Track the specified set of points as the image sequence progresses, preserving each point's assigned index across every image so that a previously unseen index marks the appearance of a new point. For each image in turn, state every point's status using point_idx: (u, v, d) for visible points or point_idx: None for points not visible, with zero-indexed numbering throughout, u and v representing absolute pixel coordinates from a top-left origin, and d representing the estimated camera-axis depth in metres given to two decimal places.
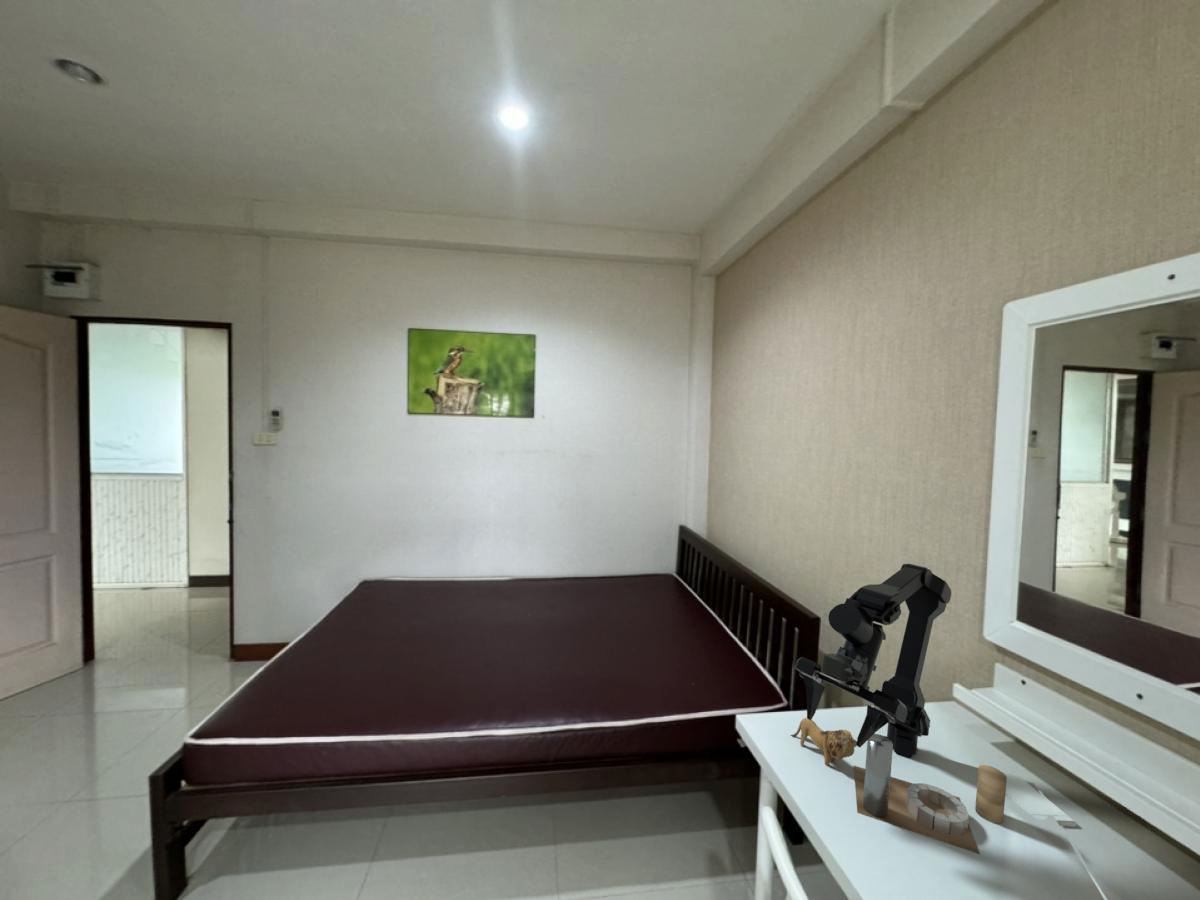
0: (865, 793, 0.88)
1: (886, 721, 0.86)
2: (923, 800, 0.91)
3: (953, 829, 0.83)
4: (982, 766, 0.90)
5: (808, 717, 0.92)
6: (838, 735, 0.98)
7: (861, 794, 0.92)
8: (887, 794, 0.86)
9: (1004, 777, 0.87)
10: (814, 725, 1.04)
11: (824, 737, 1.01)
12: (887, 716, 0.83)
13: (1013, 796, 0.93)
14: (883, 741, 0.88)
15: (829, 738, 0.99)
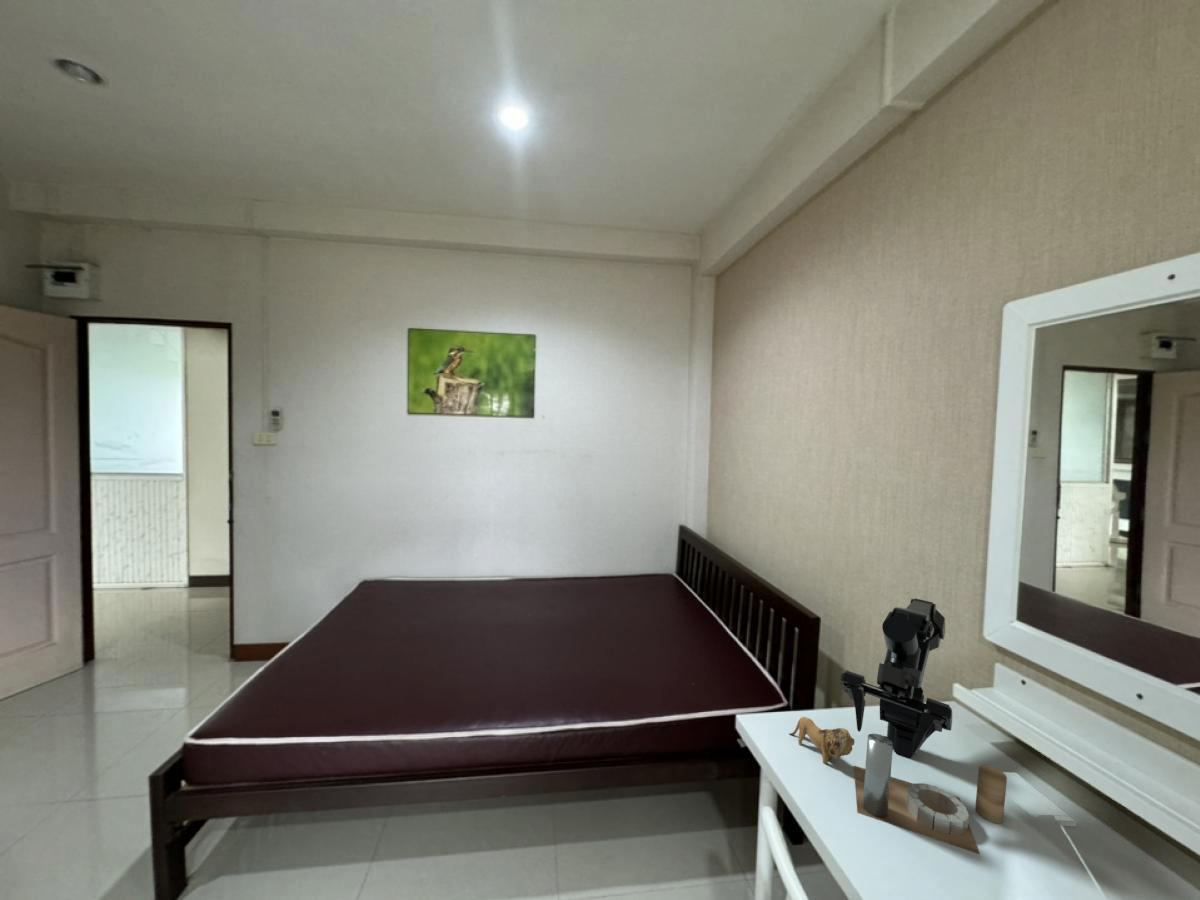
0: (865, 793, 0.88)
1: (933, 730, 0.91)
2: (923, 800, 0.91)
3: (953, 829, 0.83)
4: (982, 766, 0.90)
5: (858, 728, 0.94)
6: (836, 734, 0.99)
7: (861, 794, 0.92)
8: (887, 794, 0.86)
9: (1004, 777, 0.87)
10: (812, 724, 1.05)
11: (822, 735, 1.01)
12: (941, 722, 0.89)
13: (1013, 795, 0.93)
14: (883, 741, 0.88)
15: (827, 736, 1.00)
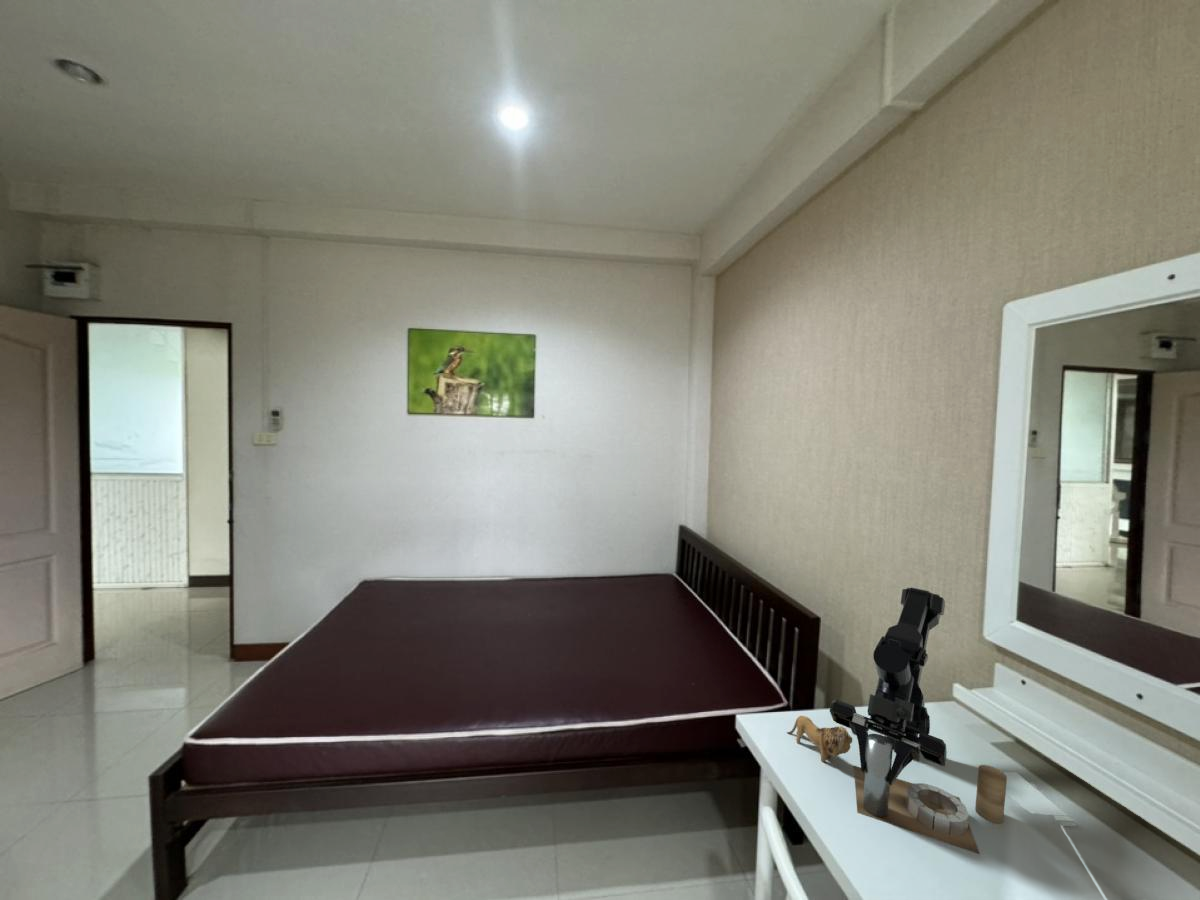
0: (865, 793, 0.88)
1: (910, 759, 0.89)
2: (923, 800, 0.91)
3: (953, 829, 0.83)
4: (982, 766, 0.90)
5: (863, 769, 0.88)
6: (834, 732, 0.99)
7: (861, 794, 0.92)
8: (887, 794, 0.86)
9: (1004, 777, 0.87)
10: (810, 722, 1.05)
11: (820, 734, 1.02)
12: (918, 752, 0.86)
13: (1013, 795, 0.94)
14: (883, 741, 0.88)
15: (825, 734, 1.00)
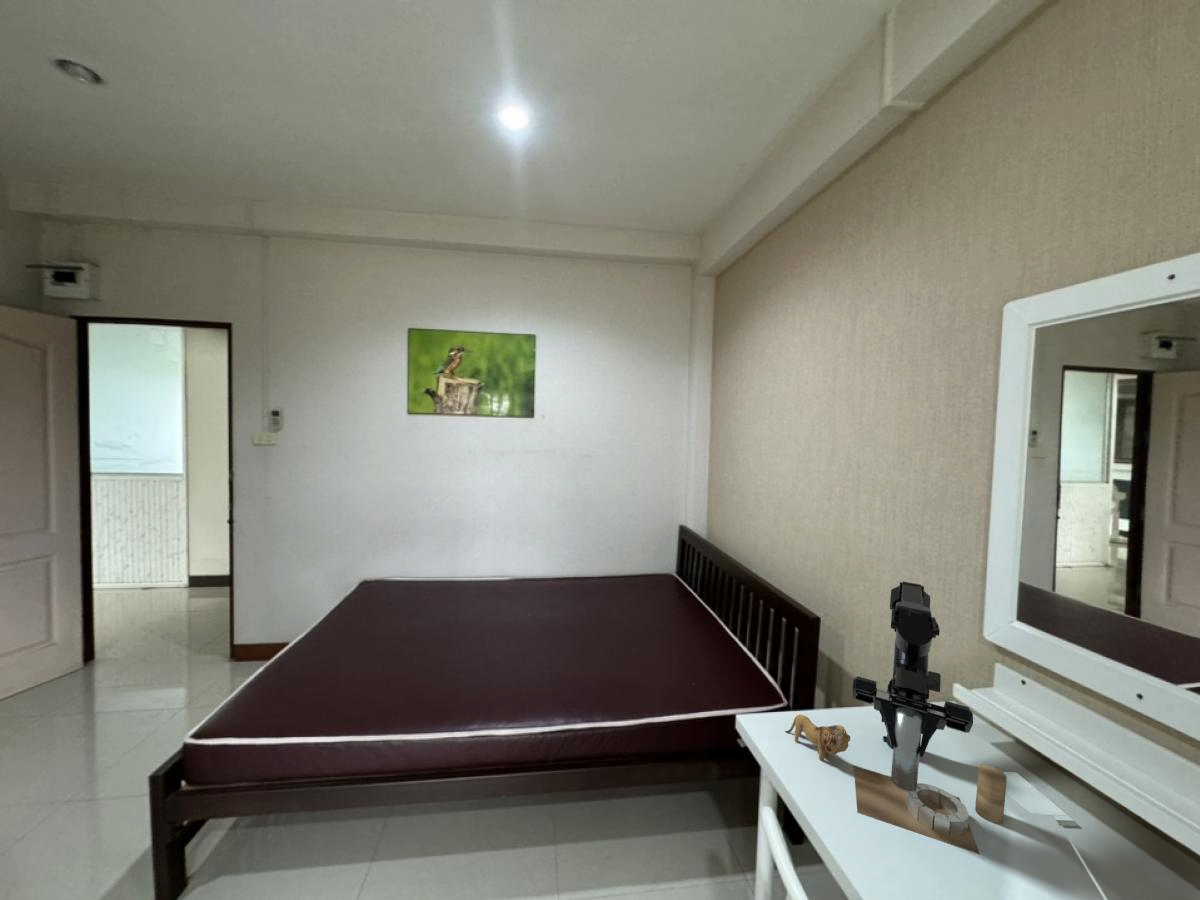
0: (895, 768, 0.87)
1: (935, 728, 0.89)
2: (923, 800, 0.91)
3: (953, 829, 0.83)
4: (982, 766, 0.90)
5: (893, 744, 0.87)
6: (832, 731, 1.00)
7: (861, 794, 0.92)
8: (917, 767, 0.86)
9: (1004, 777, 0.87)
10: (808, 721, 1.06)
11: (818, 732, 1.02)
12: None
13: (1013, 795, 0.94)
14: (911, 714, 0.87)
15: (823, 733, 1.01)
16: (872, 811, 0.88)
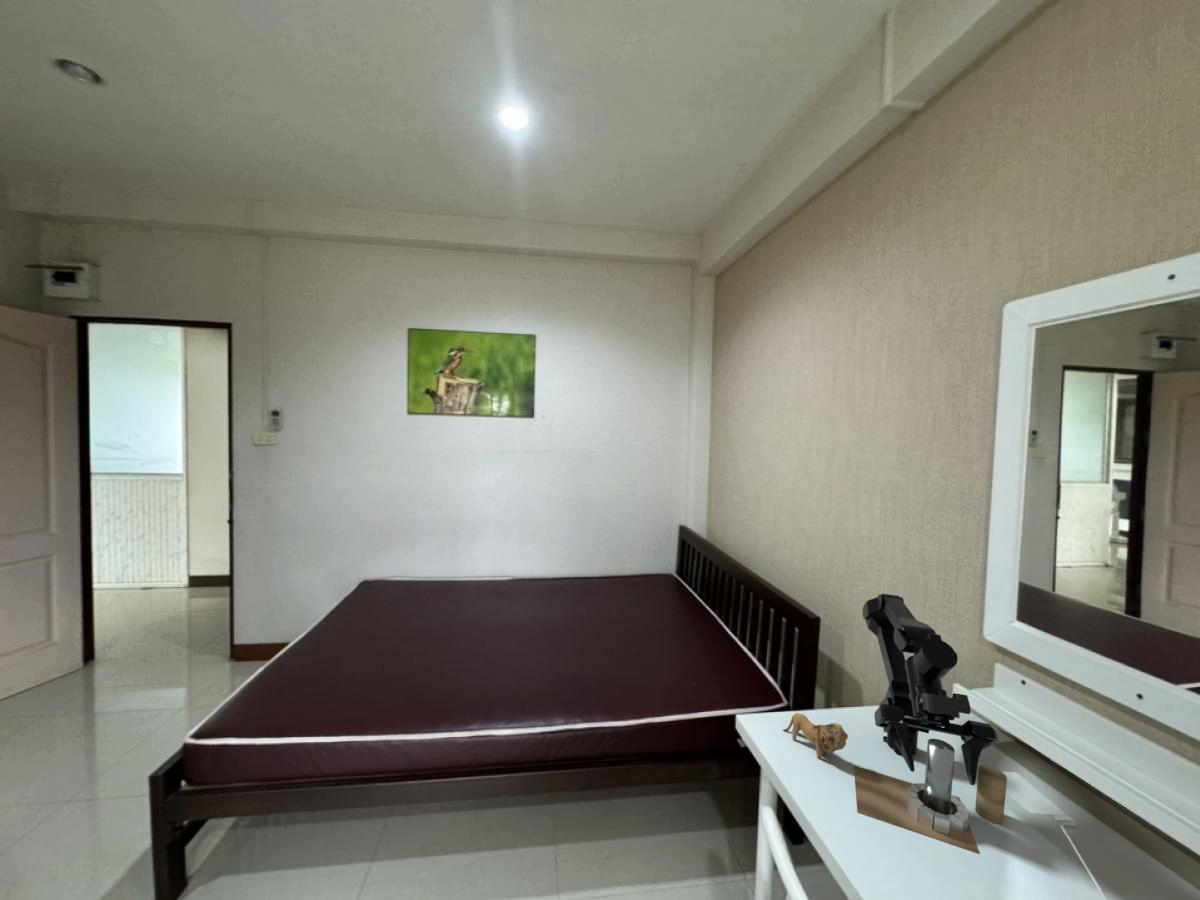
0: (930, 802, 0.87)
1: None
2: None
3: (953, 829, 0.83)
4: (982, 766, 0.90)
5: (913, 768, 0.87)
6: (830, 729, 1.00)
7: (861, 794, 0.92)
8: (950, 797, 0.86)
9: (1004, 777, 0.87)
10: (806, 719, 1.06)
11: (816, 731, 1.03)
12: None
13: (1013, 795, 0.94)
14: (943, 745, 0.87)
15: (821, 731, 1.01)
16: (872, 811, 0.88)
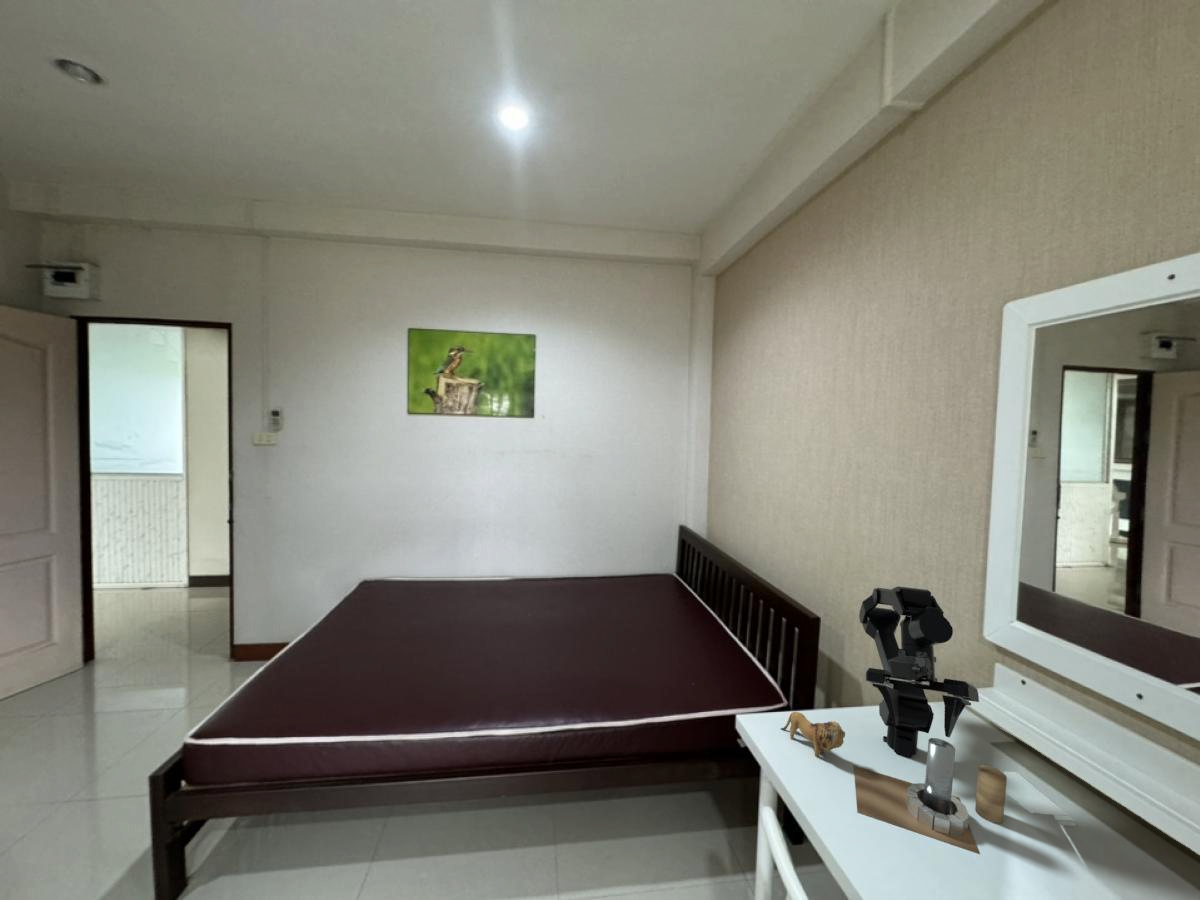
0: (930, 802, 0.87)
1: (963, 705, 0.93)
2: None
3: (953, 829, 0.83)
4: (982, 766, 0.90)
5: (894, 723, 0.98)
6: (827, 727, 1.01)
7: (861, 794, 0.92)
8: None
9: (1004, 777, 0.87)
10: (803, 718, 1.07)
11: (814, 729, 1.03)
12: (962, 700, 0.91)
13: (1013, 795, 0.94)
14: (944, 744, 0.87)
15: (819, 730, 1.02)
16: (872, 811, 0.88)
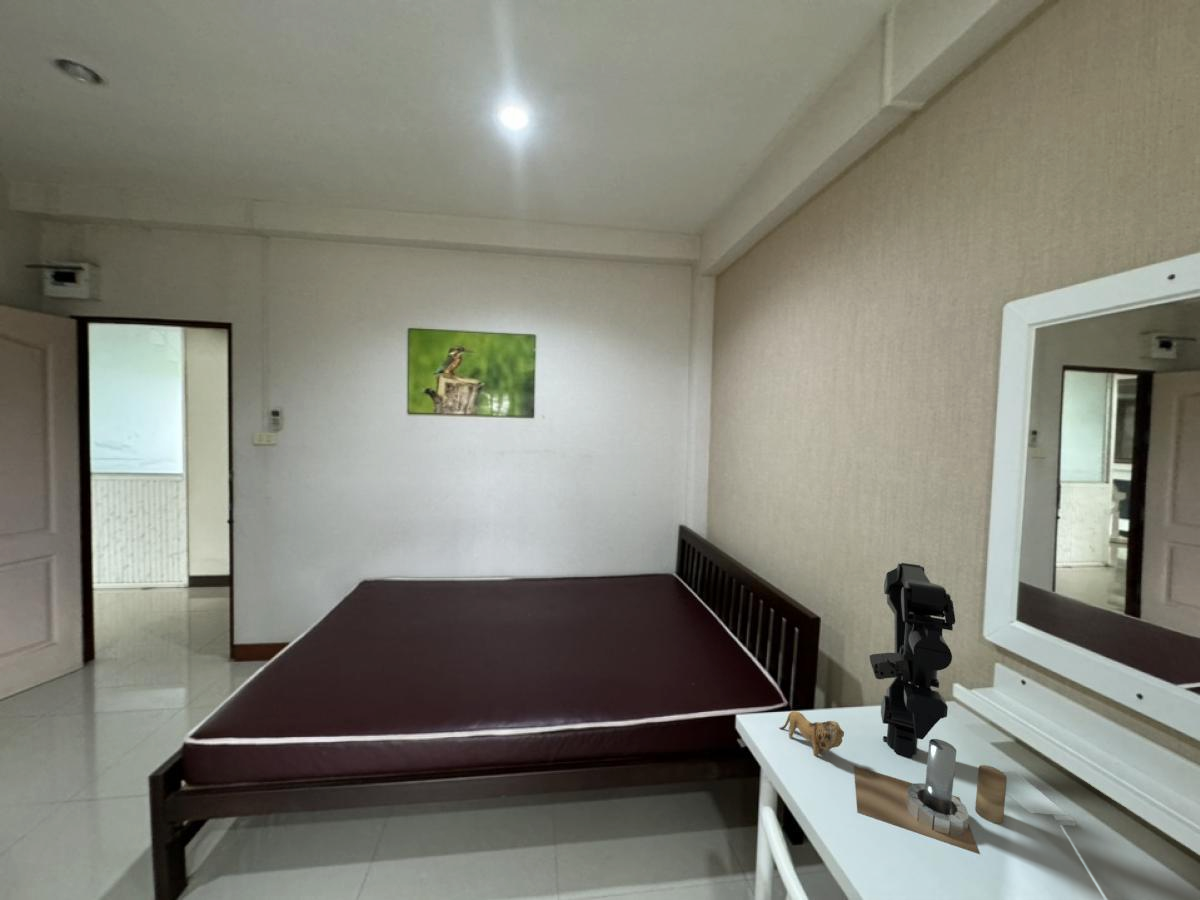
0: (930, 802, 0.87)
1: None
2: (923, 800, 0.91)
3: (953, 829, 0.83)
4: (982, 766, 0.90)
5: (908, 711, 0.99)
6: (826, 726, 1.01)
7: (861, 794, 0.92)
8: None
9: (1004, 777, 0.87)
10: (802, 717, 1.07)
11: (813, 728, 1.03)
12: (914, 710, 0.88)
13: (1013, 795, 0.94)
14: (945, 746, 0.87)
15: (818, 729, 1.02)
16: (872, 811, 0.88)
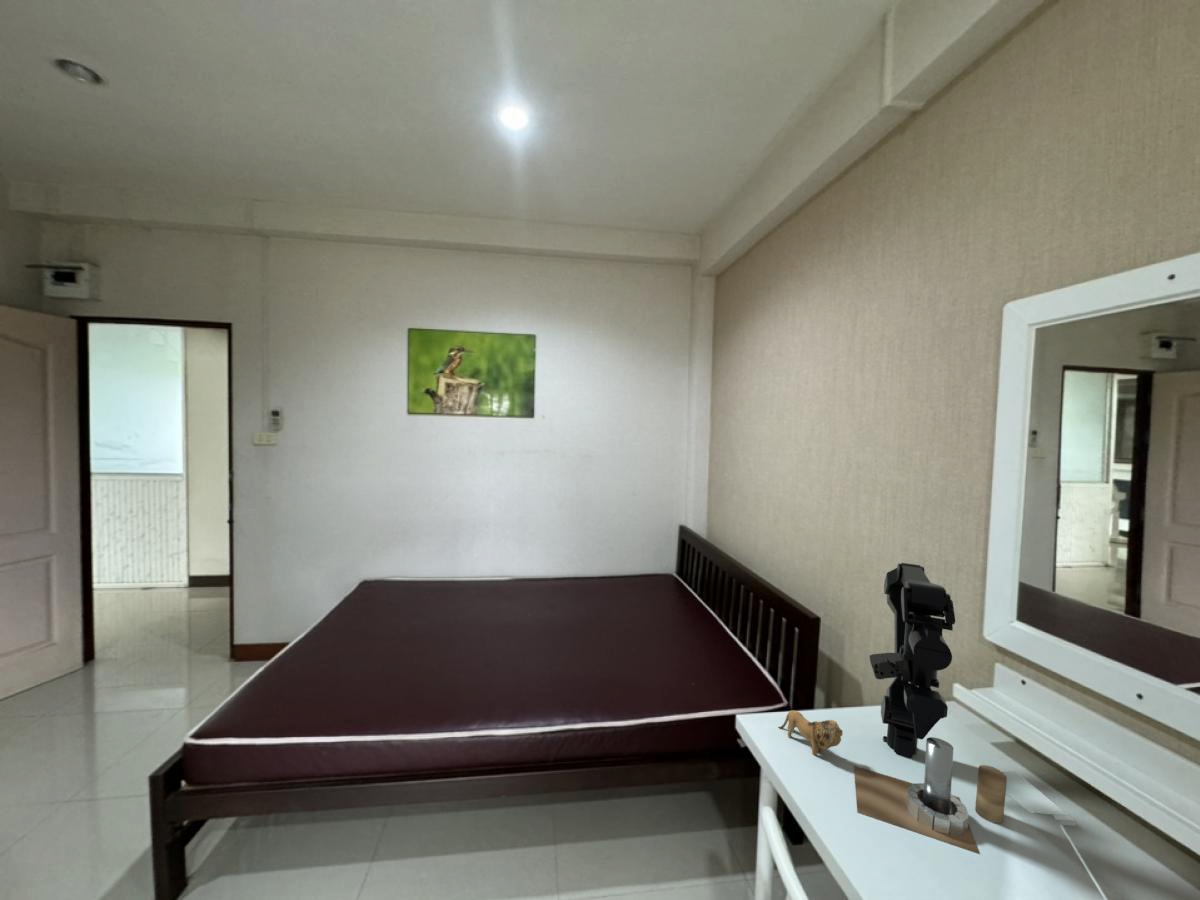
0: (930, 802, 0.87)
1: None
2: None
3: (953, 829, 0.83)
4: (982, 766, 0.90)
5: (908, 711, 0.99)
6: (825, 726, 1.01)
7: (861, 794, 0.92)
8: None
9: (1004, 777, 0.87)
10: (801, 717, 1.07)
11: (811, 728, 1.04)
12: (914, 710, 0.88)
13: (1013, 795, 0.94)
14: (942, 743, 0.88)
15: (816, 728, 1.02)
16: (872, 811, 0.88)
